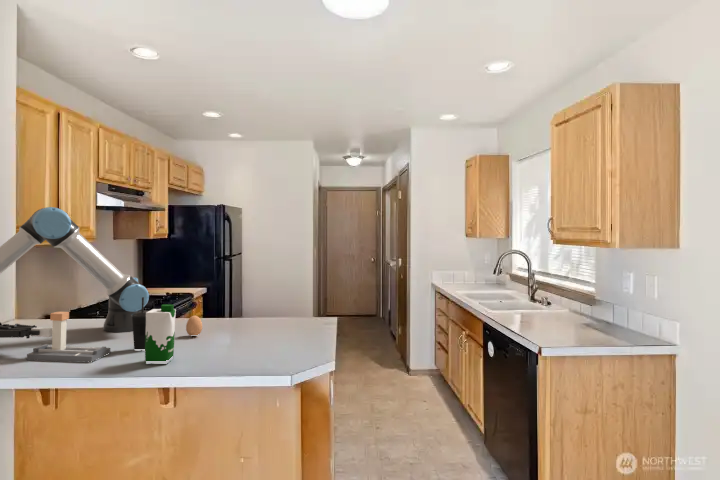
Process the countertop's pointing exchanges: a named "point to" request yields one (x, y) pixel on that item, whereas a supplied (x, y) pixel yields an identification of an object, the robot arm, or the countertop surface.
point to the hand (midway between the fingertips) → (50, 332)
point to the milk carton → (160, 333)
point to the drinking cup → (139, 327)
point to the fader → (59, 330)
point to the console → (67, 353)
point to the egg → (194, 325)
